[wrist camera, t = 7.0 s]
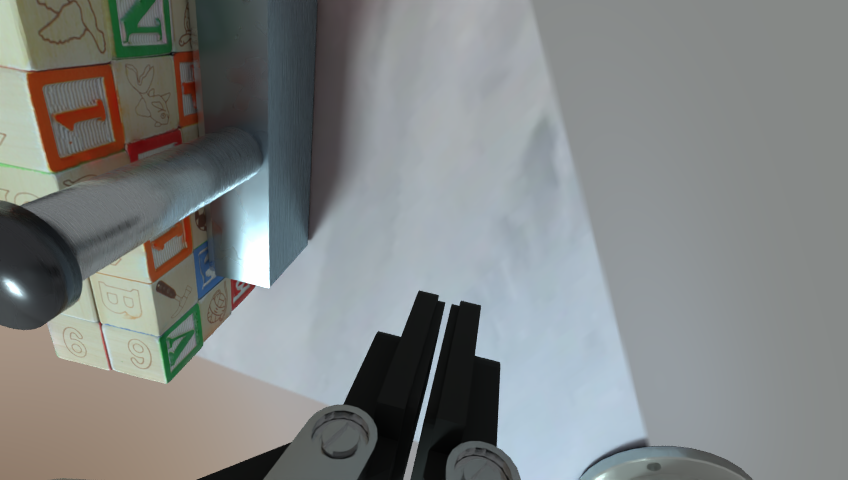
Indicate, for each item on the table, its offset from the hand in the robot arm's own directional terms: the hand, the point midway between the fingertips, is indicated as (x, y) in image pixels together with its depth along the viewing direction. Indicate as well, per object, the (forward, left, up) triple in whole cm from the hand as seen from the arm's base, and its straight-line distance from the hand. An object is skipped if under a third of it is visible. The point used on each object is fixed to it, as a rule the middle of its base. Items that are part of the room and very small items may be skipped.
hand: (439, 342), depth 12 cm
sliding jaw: (+11, -1, -14) cm, 18 cm away
